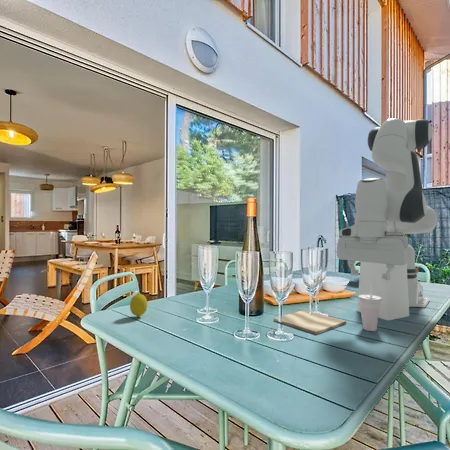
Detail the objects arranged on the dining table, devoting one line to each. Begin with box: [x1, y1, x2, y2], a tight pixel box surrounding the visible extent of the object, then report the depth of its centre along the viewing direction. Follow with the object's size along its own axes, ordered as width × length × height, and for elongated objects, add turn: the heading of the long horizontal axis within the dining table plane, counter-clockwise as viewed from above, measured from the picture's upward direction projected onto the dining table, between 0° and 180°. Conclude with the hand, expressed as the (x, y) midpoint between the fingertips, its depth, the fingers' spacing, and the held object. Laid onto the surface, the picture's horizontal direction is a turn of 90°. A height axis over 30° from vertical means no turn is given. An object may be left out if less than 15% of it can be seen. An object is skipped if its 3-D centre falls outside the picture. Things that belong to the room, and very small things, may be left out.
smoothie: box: [357, 283, 382, 332], centre depth 92 cm, size 6×6×14 cm
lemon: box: [129, 292, 148, 318], centre depth 102 cm, size 6×6×8 cm
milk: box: [356, 261, 410, 321], centre depth 109 cm, size 12×12×26 cm
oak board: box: [273, 309, 347, 336], centre depth 98 cm, size 16×16×1 cm
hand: (369, 277), depth 92 cm, fingers open, 8 cm apart
